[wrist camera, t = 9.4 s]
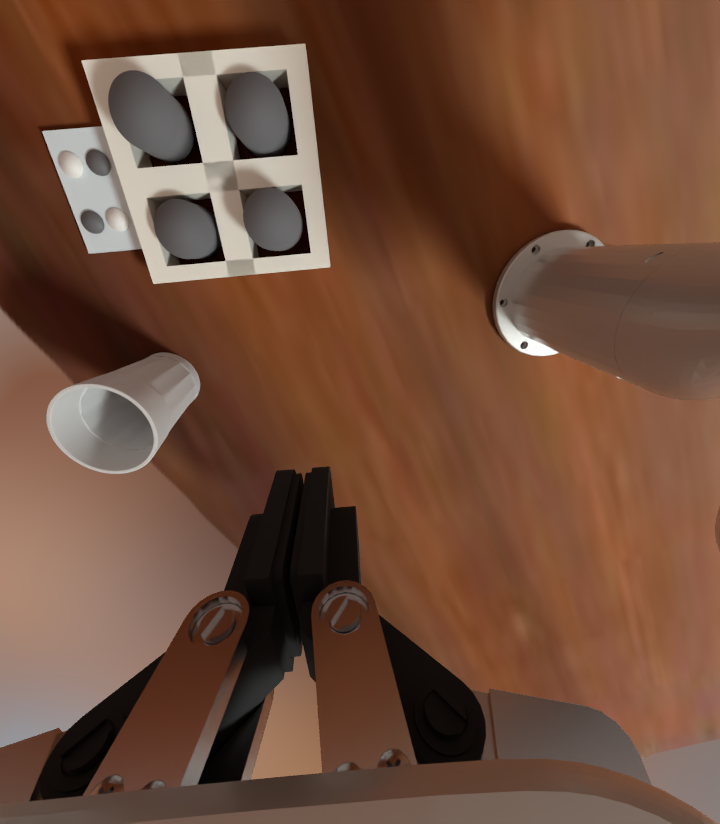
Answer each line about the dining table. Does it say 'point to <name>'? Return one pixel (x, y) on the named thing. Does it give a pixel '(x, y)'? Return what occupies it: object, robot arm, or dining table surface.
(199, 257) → the button
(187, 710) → the robot arm
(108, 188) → the card
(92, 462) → the cup
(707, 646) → the dining table surface
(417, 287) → the dining table surface
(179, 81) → the board
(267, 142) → the camera button
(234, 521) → the dining table surface
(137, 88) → the button camera
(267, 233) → the button
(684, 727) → the dining table surface
